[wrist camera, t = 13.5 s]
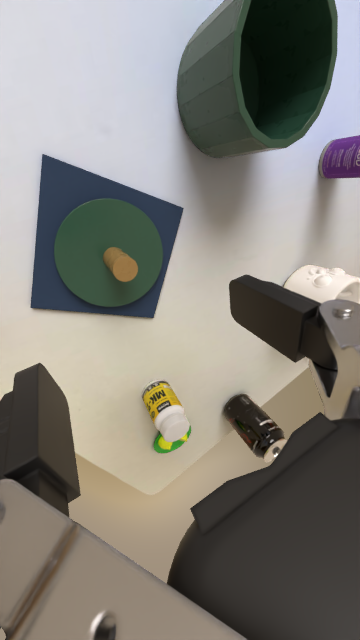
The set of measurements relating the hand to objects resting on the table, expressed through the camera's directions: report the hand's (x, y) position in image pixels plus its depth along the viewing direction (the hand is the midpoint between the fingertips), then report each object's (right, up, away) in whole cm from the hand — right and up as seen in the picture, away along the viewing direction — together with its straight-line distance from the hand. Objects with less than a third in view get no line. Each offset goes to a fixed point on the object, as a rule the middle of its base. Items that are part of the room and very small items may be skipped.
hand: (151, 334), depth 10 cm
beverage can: (+13, -18, +42) cm, 48 cm away
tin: (+5, +23, +14) cm, 28 cm away
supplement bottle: (-3, -11, +29) cm, 31 cm away
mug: (+24, +7, +34) cm, 42 cm away
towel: (-7, +8, +16) cm, 19 cm away
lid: (-6, +7, +16) cm, 18 cm away
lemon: (-1, -22, +37) cm, 43 cm away
